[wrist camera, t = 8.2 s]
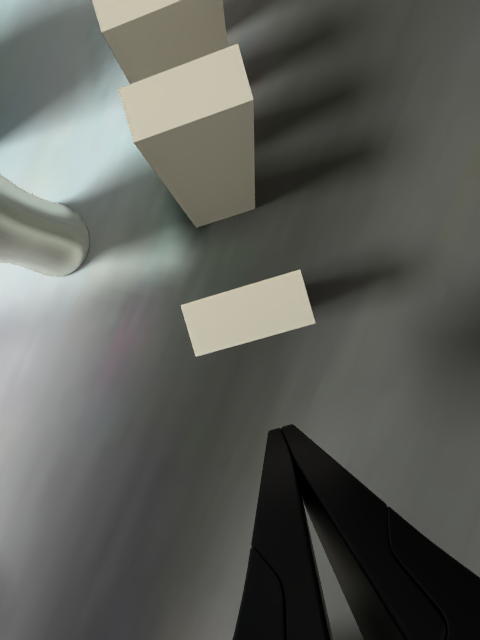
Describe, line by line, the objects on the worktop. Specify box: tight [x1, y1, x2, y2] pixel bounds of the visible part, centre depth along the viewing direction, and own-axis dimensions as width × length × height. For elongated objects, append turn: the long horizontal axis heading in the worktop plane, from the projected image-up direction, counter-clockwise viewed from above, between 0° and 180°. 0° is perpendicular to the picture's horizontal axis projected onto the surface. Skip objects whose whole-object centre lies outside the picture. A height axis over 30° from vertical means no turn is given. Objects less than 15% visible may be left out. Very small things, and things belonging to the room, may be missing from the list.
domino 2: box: [118, 44, 255, 228], centre depth 14 cm, size 2×5×10 cm, turn 106°
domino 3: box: [92, 0, 228, 84], centre depth 14 cm, size 2×5×10 cm, turn 106°
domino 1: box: [181, 270, 315, 357], centre depth 15 cm, size 2×5×10 cm, turn 106°
